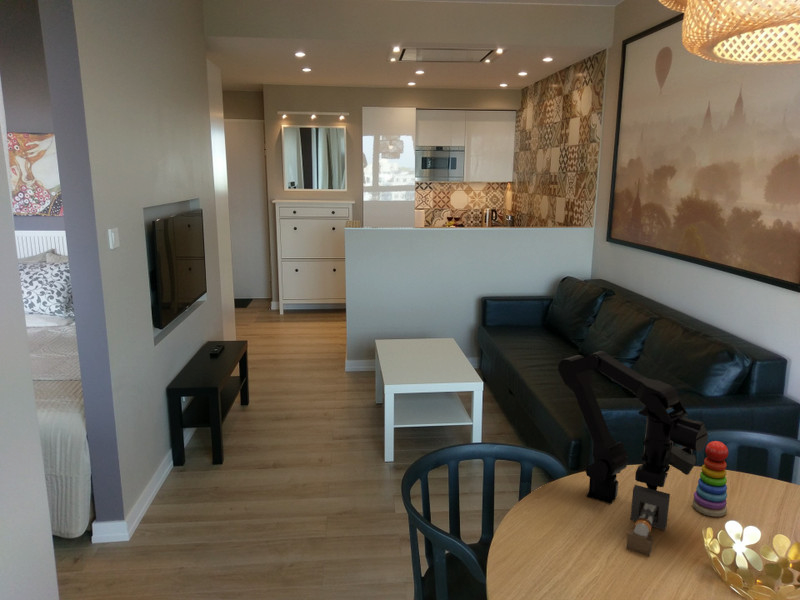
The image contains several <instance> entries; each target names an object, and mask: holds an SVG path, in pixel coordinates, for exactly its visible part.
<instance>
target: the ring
mask: <svg viewBox="0 0 800 600" xmlns="http://www.w3.org/2000/svg"><path fill="white" fill-rule="evenodd" d="M631 497H632V499H631V508H630V509H631V510H630V521H634V522H636V521H637V519H639V517H640V514H641V513H640V511H641V502H644V503H647V504H651V505H654V506H658V507H659V515H658V518H657V517H654V520H653V522H652V528H657V529H660V530H662V531H666V529H667V525H668V517H669V506H670V498H671V494H670V493H668V492H663V491H661V490H653V489H650V488H648V487H647V486H642V485H638V484H634V486H633V488H632V495H631Z"/></svg>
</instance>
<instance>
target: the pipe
mask: <svg viewBox="0 0 800 600" xmlns="http://www.w3.org/2000/svg"><path fill="white" fill-rule="evenodd" d="M640 513H641V514H640V517H639V519H637V521H635V524H634V528H629V529H628V532H627V537H626V548H625V549H626V550H629V551H630V552H634V553H638V554H641V555H643V556H647V557H650V556H651V553H652V548H653V547H652V546H653V539H654V538H653V537H654V535H653V534H651V531H652V528H653V526H652V522H653V520H654V517H657V518H658V515H659V507H658V506H654V505H651V504H647V503H644V502H641V511H640Z"/></svg>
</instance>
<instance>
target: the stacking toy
mask: <svg viewBox="0 0 800 600" xmlns="http://www.w3.org/2000/svg"><path fill="white" fill-rule="evenodd" d="M705 454H706V456H707V457H705V458H704V460H703V463H704V464H703V465H701V468H700V469H701V471H700V473H699V479H698V481H697V486H696V488H695V489H696V490H695V491H694V492H693V498H692V501H691V503H692V506H693V508H694V509H695V510H696V511H697V512H699V513H700V514H704V516H709V517H722V516H725V515H726V514H727V512H728V506H727V504H728V502H727V498H728V492H727V490H728V486H727V481H728V480H727V477H726V475H727V470H726V468H727V462H726V461H725V460H726V459H727V458H728V456H729V449H728V447H727V445H725V443H723V442H722V441H718V440H714V441H710V442H708V444H707V443H706V445H705Z"/></svg>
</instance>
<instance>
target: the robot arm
mask: <svg viewBox="0 0 800 600" xmlns="http://www.w3.org/2000/svg"><path fill="white" fill-rule="evenodd" d="M593 369H595V370H597V371H599V372H600V373H601V374H603V375H605V376H606V377H608V378H610V379H612V380H613V381H614V382H615V383H618V384H619V385H621V386H622V387H623V388H625V389H628V390H629V391H630V392H632V393H633V394H634V395H635V396H636V397H637V400H638V401H639V402H640V403H641V404H642V405H643V406H644V408H643V409H641V410H639V411H638V415H640V416H644V417H646V426H645V437H644V439H643V441H642V443H643V444H642V445H643V446H644V448H643V453H642V456H641V461H643V462H642V463H641V464H639V465H638V466H637V469H636V470H635V477H634V479H635V481H636V482H638V483H642V484H645V485H646V488H650V489H653V490H657V489H658V488H664V486H665V483H666V479H667V477H668V472H669V471H670V468H671V467H673V468H675V469H677V470H678V471H679V472H681V473H682V474H683V475H686V476H689V474H690V473H691V471H692V470H693V469H694V466H696V462H697V461H696V460H697V458H696V455H695V454H693V451H695V452H697V453H701V452H702V451H703V450H704V449H705V448H706V446H707V442H708V439H709V433H708V431H707V430H708V429H707V428H705V422H704V421H700V420H694V419H692V418H688V417H687V416H688V412H687V410H686V408H685V406H684V404H683V403H682V401H681V399H680V394H679V393H678V390H677V389H676V388H675V387H674V386H673V385H671V384H668V383H666V382H663V381H661V380H657V379H653V378H648V377H646V376H644V375H643V374H641V373H639V372H637V371H636V370H634V369H632V368H630V367H629V366H627V365H625V364H623V363H622V362H620V361H619V360H618V359H616V358H614V357H612V356H611V355H610V354H608V353H607V352H606V351H603V350H599V351H596V352H593V353H591V354H589V355H587V356H583V355H580V354H576V355H574V356H571V357H567V358H564V359H561V360H560V361H559V363H558V366H557V372H558V375H559V376H560V378H561V381H563V383H564V385H565V386H567V387H568V388H569V389H570V390H571V391H572V393H573V394H574V397H575V399H576V402H577V405H578V407H579V410H580V412H581V415H582V417H583V420H584V423H585V426H586V428H587V431H588V433H589V436H590V438H591V441H592V453H591V455H592V460H593V463H592V464H589V465H588V466H587V467H585V468H584V470H585V474H586V476H587V477H589V485H588V492H587V494H586V497H587V498H588V499H589V498H590V499H593V500H597V501H600V502H603V503H608V504H610V505H611V504H612V503H613V502H614V500H615V499H616V498H617V496H618V494H619V493H618V491H619V490H618V489H619V481H618V480H617V475H618V474H620V473H621V472H622V471H623V470H625V469H626V468H627V467H628V464H629V460H628V459H629V458H628V457H629V454H628V453H627V452H626V449H625V445H624V443H623V441H619V442H617V441H616V440H615V439H614V438H613V437H612V435H611V433H610V429H609V428H608V425H607V423H606V420H605V418H604V415H603V412H602V410H601V407H600V405H599V403H598V400H597V398H596V394H595V392H594V390H593V387H592V377H593V373H592V370H593ZM671 409H673V410H672V411H670V412H668V411H669V410H671ZM674 444H675V445H679V446H678V447H677V446H675V445H674ZM680 446H681V447H680ZM657 491H658V490H657Z"/></svg>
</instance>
